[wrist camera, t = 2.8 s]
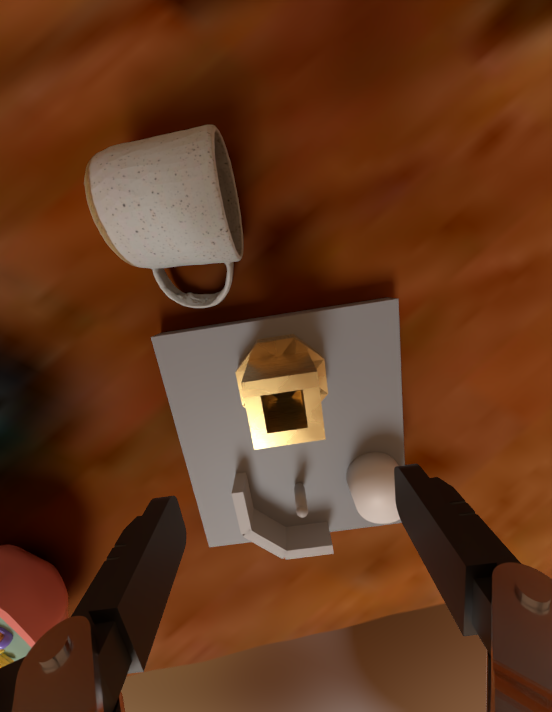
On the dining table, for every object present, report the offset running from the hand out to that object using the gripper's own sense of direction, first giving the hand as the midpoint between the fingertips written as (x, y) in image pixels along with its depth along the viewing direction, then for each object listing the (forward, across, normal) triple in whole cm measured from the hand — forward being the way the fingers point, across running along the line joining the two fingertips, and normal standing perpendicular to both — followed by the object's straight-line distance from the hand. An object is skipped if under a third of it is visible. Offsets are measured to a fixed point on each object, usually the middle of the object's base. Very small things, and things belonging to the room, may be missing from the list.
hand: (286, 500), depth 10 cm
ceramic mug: (+16, +5, -12) cm, 21 cm away
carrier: (+16, 0, +6) cm, 17 cm away
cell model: (+16, +33, +20) cm, 42 cm away
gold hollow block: (+14, 0, 0) cm, 14 cm away
